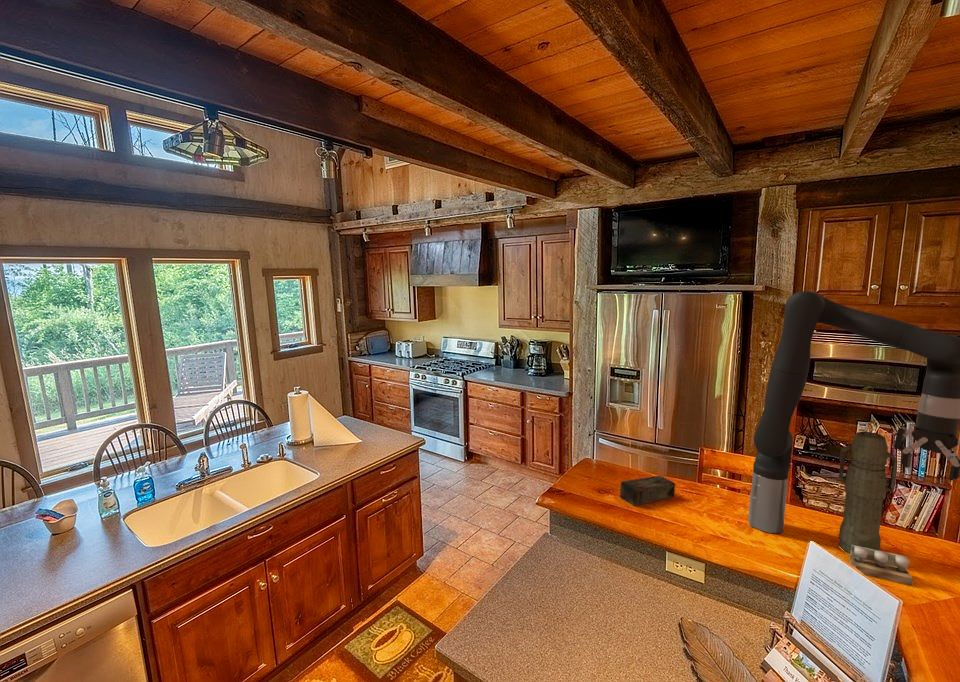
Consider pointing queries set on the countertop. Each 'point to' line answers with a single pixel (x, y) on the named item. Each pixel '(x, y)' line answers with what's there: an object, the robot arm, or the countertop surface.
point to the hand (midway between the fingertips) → (928, 473)
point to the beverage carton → (647, 490)
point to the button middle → (880, 558)
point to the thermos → (865, 490)
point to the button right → (901, 563)
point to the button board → (883, 573)
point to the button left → (860, 553)
